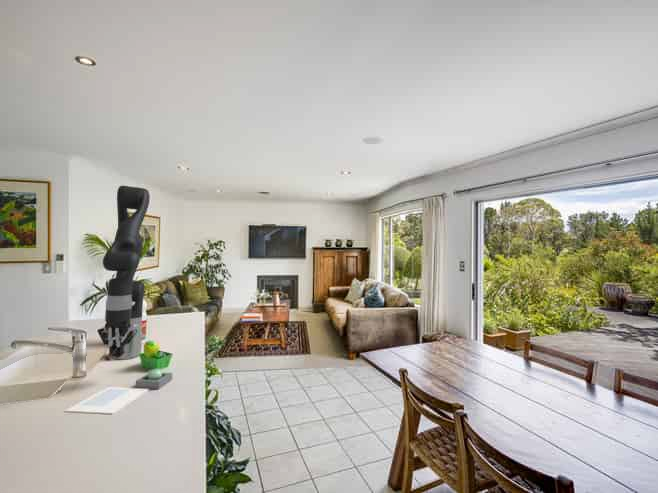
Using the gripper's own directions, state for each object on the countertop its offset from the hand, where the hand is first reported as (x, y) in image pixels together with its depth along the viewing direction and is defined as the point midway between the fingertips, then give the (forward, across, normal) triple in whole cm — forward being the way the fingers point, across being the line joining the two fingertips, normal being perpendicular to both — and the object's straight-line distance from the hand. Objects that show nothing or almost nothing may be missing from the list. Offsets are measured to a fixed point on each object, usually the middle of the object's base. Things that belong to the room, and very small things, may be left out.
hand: (115, 356), depth 105 cm
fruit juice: (+11, +24, -45) cm, 52 cm away
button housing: (+9, -14, 0) cm, 17 cm away
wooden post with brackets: (0, 0, 0) cm, 1 cm away
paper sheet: (+9, -8, +13) cm, 17 cm away
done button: (+7, -14, 0) cm, 16 cm away
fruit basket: (+10, -4, -15) cm, 19 cm away
